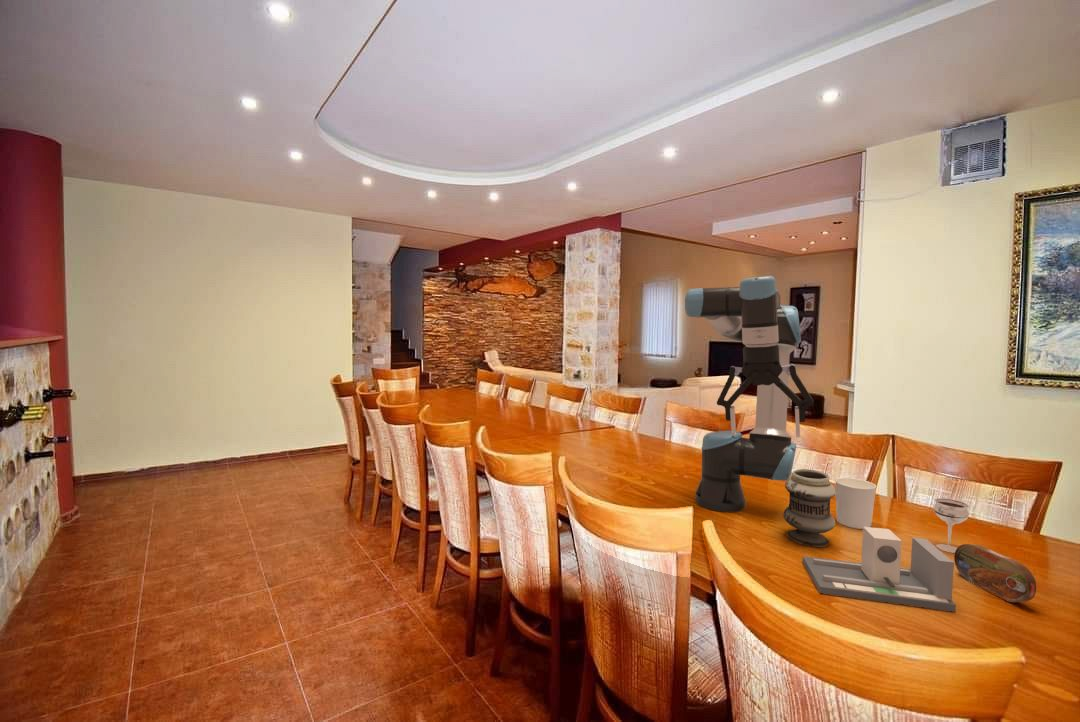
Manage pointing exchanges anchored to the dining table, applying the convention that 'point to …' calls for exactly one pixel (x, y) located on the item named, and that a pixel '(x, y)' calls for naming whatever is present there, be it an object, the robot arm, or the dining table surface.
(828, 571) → the gauge bed
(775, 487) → the dining table surface
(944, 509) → the wineglass
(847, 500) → the candle holder
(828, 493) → the apothecary jar
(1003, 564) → the tin
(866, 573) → the gauge carriage
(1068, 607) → the dining table surface
